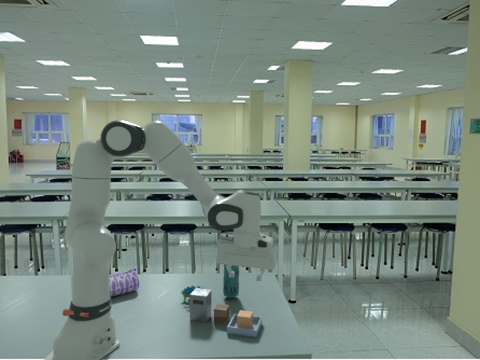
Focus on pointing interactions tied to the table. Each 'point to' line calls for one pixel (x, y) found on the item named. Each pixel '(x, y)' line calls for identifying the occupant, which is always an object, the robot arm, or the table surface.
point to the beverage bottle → (231, 282)
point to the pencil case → (123, 282)
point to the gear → (188, 291)
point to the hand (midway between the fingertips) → (245, 278)
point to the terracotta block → (245, 319)
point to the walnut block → (221, 313)
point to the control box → (200, 305)
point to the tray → (252, 332)
